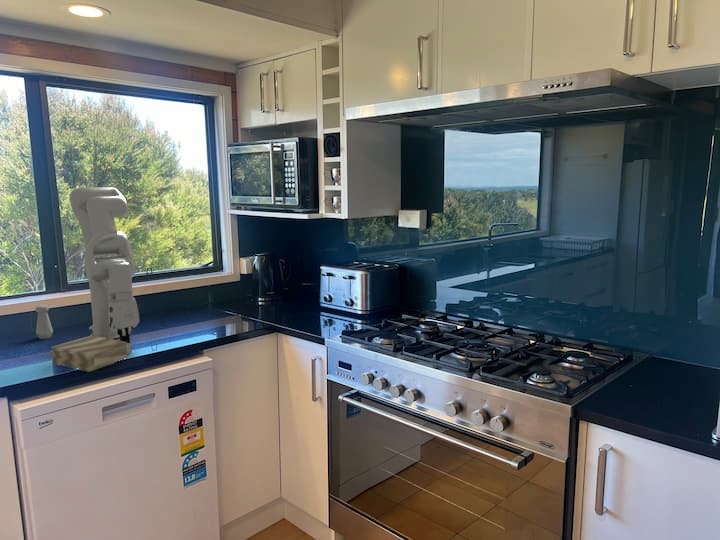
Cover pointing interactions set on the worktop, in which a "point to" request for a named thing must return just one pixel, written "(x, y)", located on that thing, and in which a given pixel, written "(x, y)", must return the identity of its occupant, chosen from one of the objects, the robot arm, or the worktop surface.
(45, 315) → the salt shaker
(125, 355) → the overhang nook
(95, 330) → the robot arm
